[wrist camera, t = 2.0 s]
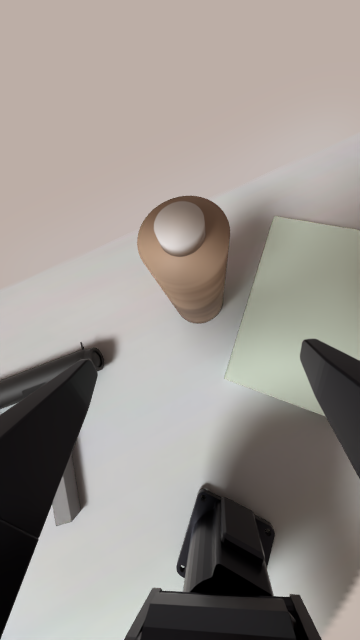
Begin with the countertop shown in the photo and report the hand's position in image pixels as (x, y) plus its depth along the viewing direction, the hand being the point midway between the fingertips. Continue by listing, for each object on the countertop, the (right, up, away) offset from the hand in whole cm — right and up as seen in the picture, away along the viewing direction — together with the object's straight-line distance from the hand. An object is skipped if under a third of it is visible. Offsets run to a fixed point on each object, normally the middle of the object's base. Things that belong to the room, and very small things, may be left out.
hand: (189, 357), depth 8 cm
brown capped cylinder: (+2, +4, +14) cm, 14 cm away
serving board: (+13, +2, +11) cm, 17 cm away
